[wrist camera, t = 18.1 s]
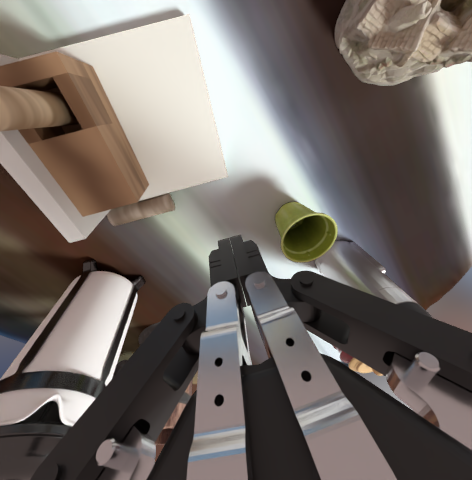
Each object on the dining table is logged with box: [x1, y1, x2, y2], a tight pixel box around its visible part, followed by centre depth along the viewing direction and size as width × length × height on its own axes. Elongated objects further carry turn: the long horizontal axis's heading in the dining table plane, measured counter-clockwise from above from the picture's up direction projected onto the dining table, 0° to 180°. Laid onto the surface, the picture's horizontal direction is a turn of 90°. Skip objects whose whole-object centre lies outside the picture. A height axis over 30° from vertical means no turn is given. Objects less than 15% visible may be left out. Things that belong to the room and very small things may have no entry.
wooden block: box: [107, 193, 175, 226], centre depth 33 cm, size 10×3×3 cm
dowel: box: [0, 86, 79, 131], centre depth 17 cm, size 3×3×12 cm
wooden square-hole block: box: [0, 51, 149, 217], centre depth 24 cm, size 7×14×7 cm, turn 12°
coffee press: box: [0, 259, 146, 480], centre depth 30 cm, size 17×16×30 cm
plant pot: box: [275, 202, 337, 262], centre depth 36 cm, size 9×9×9 cm
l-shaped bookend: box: [0, 14, 228, 243], centre depth 23 cm, size 21×18×10 cm
